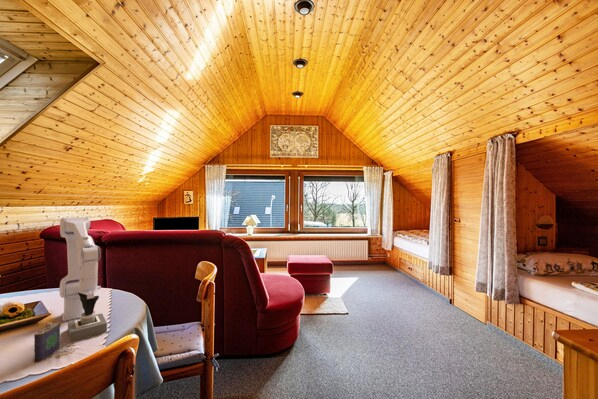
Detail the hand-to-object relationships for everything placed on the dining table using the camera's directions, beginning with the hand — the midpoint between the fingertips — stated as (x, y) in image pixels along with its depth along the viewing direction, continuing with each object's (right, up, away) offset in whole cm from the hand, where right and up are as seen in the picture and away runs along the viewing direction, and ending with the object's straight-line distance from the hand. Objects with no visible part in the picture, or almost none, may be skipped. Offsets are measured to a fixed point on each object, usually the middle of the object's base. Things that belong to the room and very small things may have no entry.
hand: (87, 311), depth 105 cm
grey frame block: (0, -8, 0) cm, 8 cm away
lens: (0, -8, 0) cm, 8 cm away
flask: (-1, -8, -16) cm, 18 cm away
